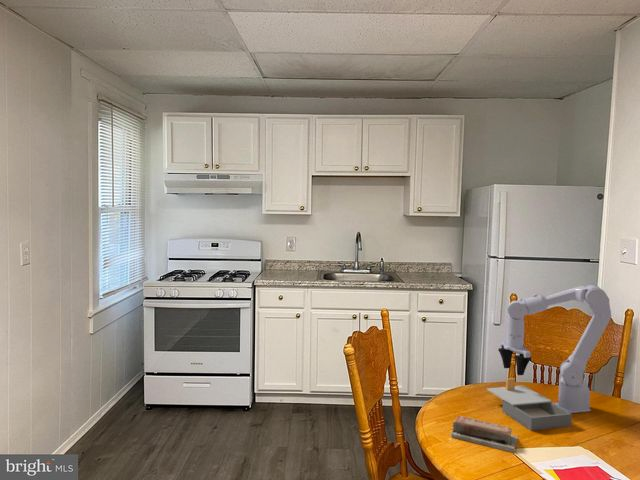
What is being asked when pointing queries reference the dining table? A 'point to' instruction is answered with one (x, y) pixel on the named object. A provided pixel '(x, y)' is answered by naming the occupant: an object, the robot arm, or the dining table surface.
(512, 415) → the carton
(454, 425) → the packaged product
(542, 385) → the dining table surface
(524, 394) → the carton lid
